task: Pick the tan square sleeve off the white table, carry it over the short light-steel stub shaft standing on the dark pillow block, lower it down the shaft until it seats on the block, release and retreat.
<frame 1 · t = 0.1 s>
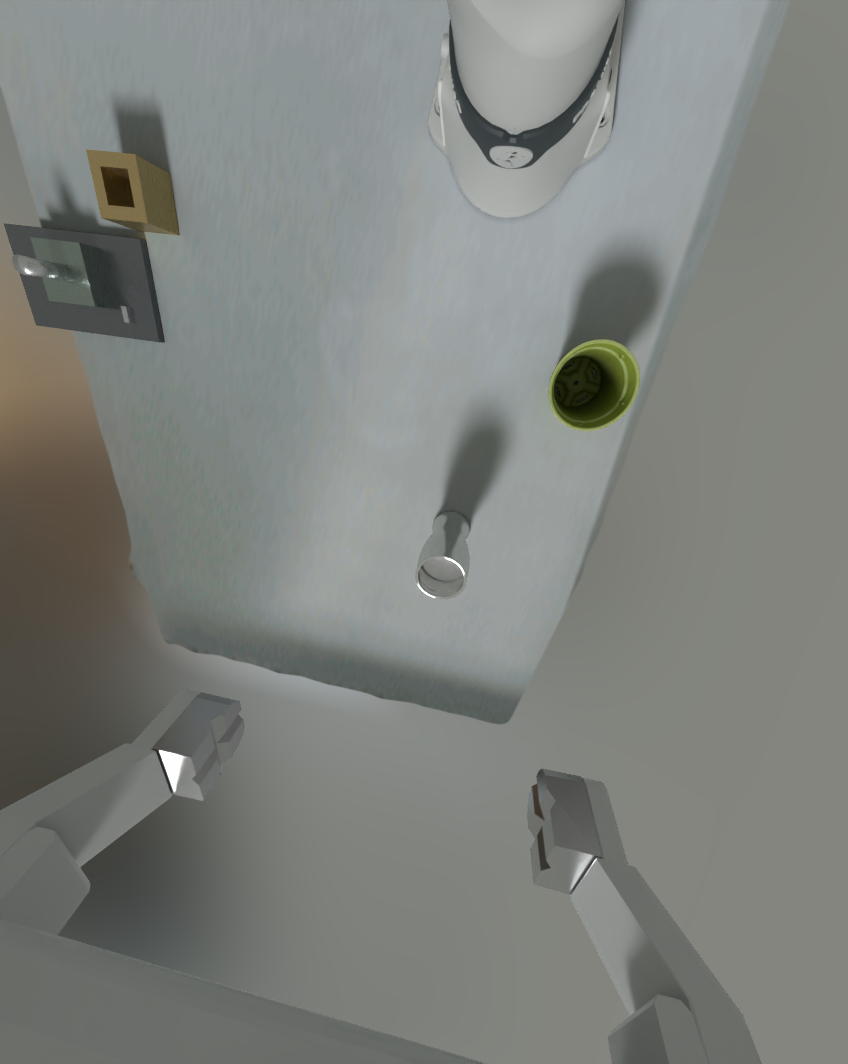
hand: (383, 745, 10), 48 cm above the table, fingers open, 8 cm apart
beer glass: (451, 527, 60), on the table
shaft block: (89, 277, 51), on the table
tan square sleeve: (153, 203, 46), on the table
plant pot: (575, 382, 48), on the table
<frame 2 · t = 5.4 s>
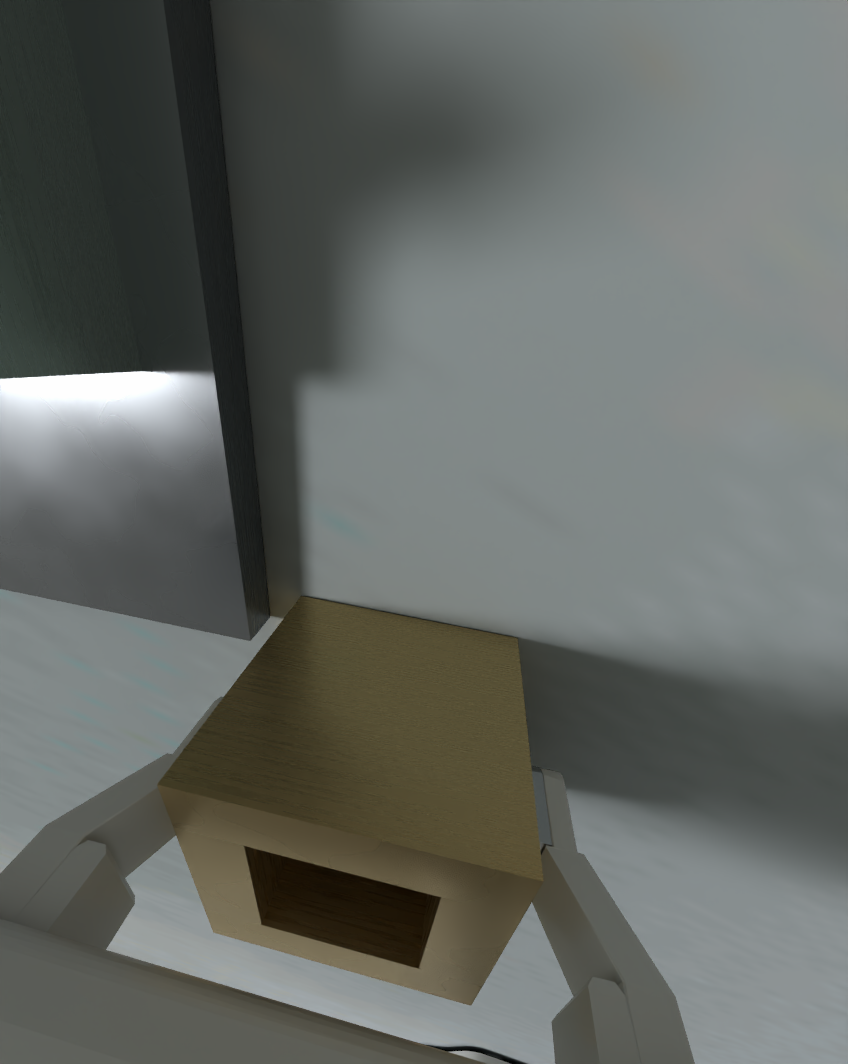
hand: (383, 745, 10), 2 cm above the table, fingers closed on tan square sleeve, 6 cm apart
tan square sleeve: (397, 692, 11), on the table, touching gripper
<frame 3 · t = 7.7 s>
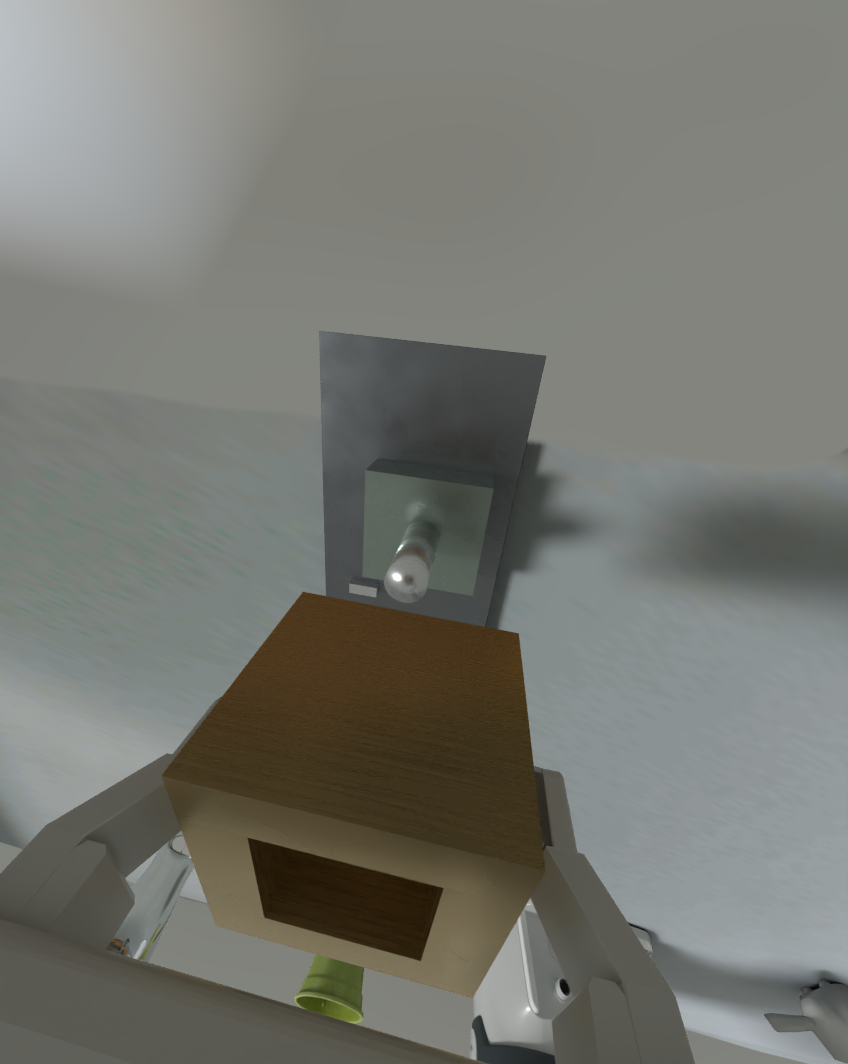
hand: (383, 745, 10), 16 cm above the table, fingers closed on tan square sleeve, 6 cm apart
beer glass: (189, 838, 52), on the table
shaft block: (430, 513, 24), on the table
tan square sleeve: (398, 688, 11), point 14 cm above the table, touching gripper
plant pot: (350, 917, 56), on the table
grey chunky knobbed piece: (827, 985, 43), on the table
when the fingers open (6 cm above the table, at t = 10.0 s): tan square sleeve stays where it is, resting on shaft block.
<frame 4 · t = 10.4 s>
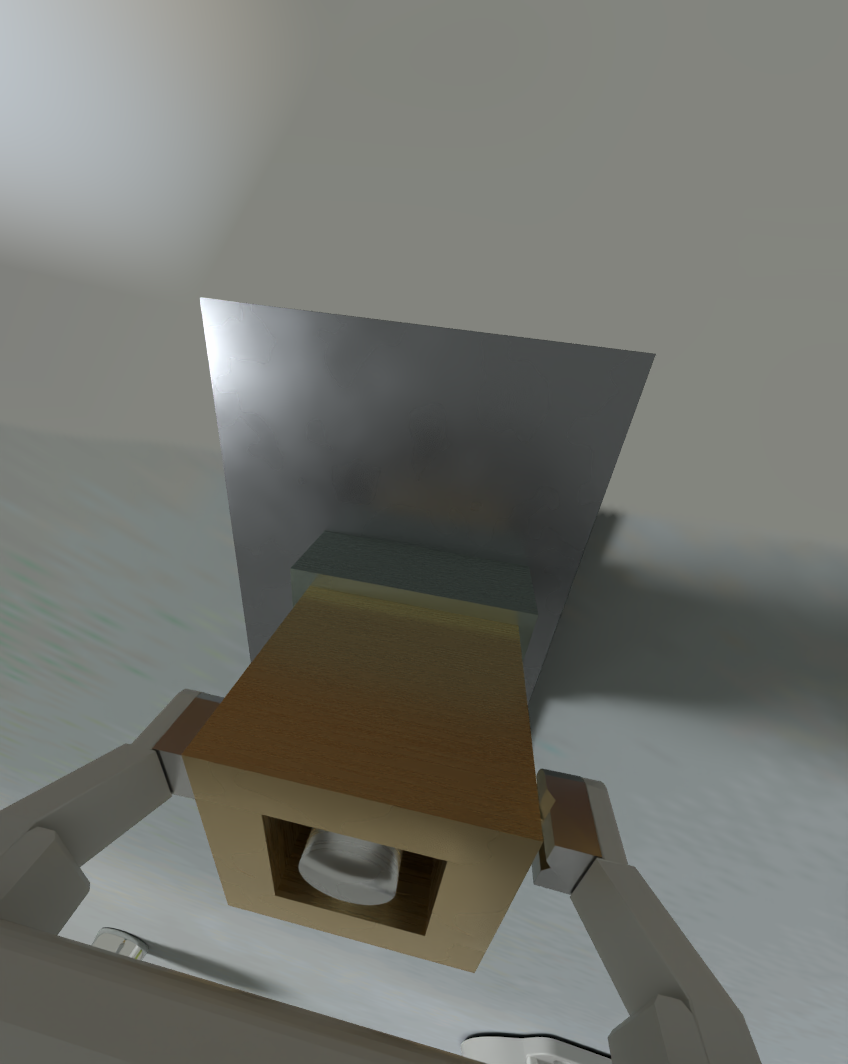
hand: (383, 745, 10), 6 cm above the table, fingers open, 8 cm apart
beer glass: (126, 937, 43), on the table
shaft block: (418, 610, 15), on the table
tan square sleeve: (402, 679, 12), point 3 cm above the table, touching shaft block
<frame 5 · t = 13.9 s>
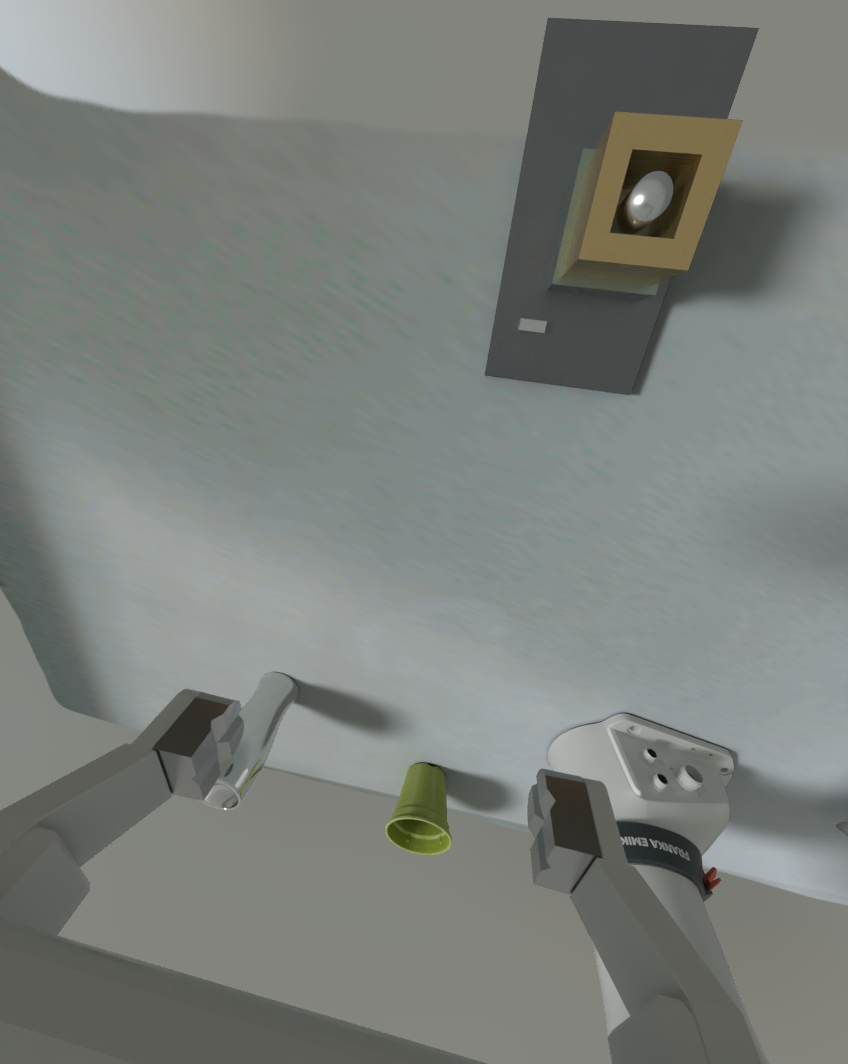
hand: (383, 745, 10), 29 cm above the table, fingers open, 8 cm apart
beer glass: (280, 685, 55), on the table
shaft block: (605, 240, 27), on the table
tan square sleeve: (622, 225, 24), point 3 cm above the table, touching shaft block
plant pot: (427, 772, 59), on the table
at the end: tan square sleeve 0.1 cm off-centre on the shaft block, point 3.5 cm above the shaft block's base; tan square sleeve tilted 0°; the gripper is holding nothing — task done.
